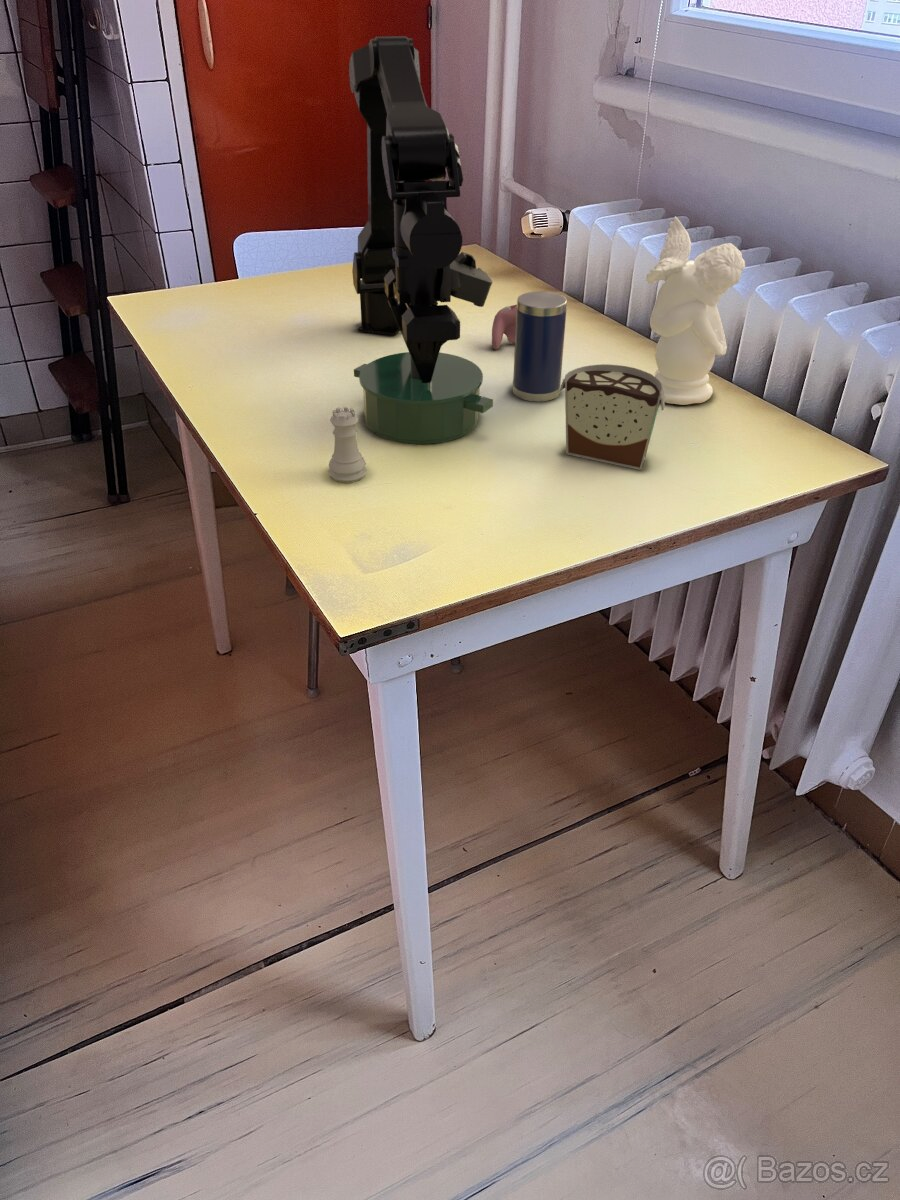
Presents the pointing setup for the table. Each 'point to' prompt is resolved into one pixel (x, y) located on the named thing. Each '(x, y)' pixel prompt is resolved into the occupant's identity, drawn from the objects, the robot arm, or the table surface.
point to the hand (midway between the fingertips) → (421, 370)
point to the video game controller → (504, 325)
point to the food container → (611, 413)
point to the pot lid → (403, 383)
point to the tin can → (539, 345)
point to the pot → (423, 418)
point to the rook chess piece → (346, 448)
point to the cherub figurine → (690, 313)
